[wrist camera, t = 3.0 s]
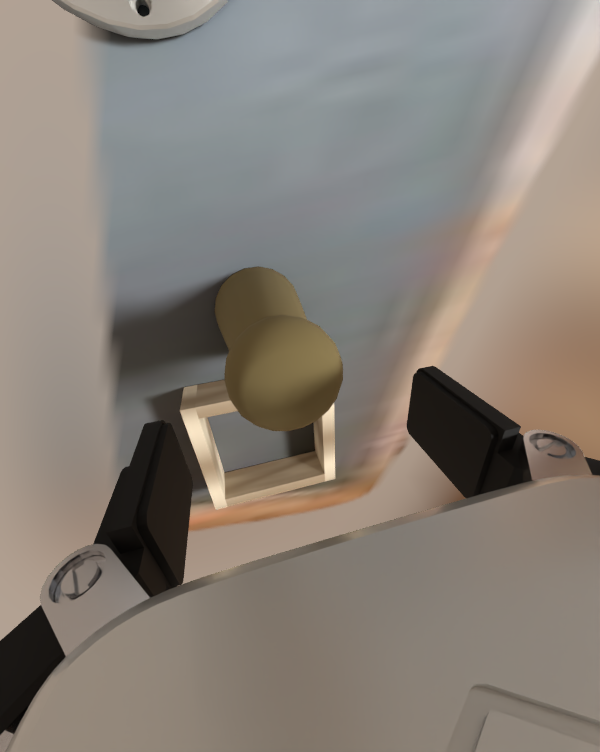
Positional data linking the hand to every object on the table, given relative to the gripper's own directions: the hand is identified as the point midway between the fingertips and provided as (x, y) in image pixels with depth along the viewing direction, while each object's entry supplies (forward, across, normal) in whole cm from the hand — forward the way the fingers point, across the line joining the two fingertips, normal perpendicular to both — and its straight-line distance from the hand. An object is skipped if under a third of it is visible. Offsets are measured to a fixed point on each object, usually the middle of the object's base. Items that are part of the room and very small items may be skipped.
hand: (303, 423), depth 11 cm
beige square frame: (+12, +1, +10) cm, 16 cm away
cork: (+12, 0, -1) cm, 12 cm away
